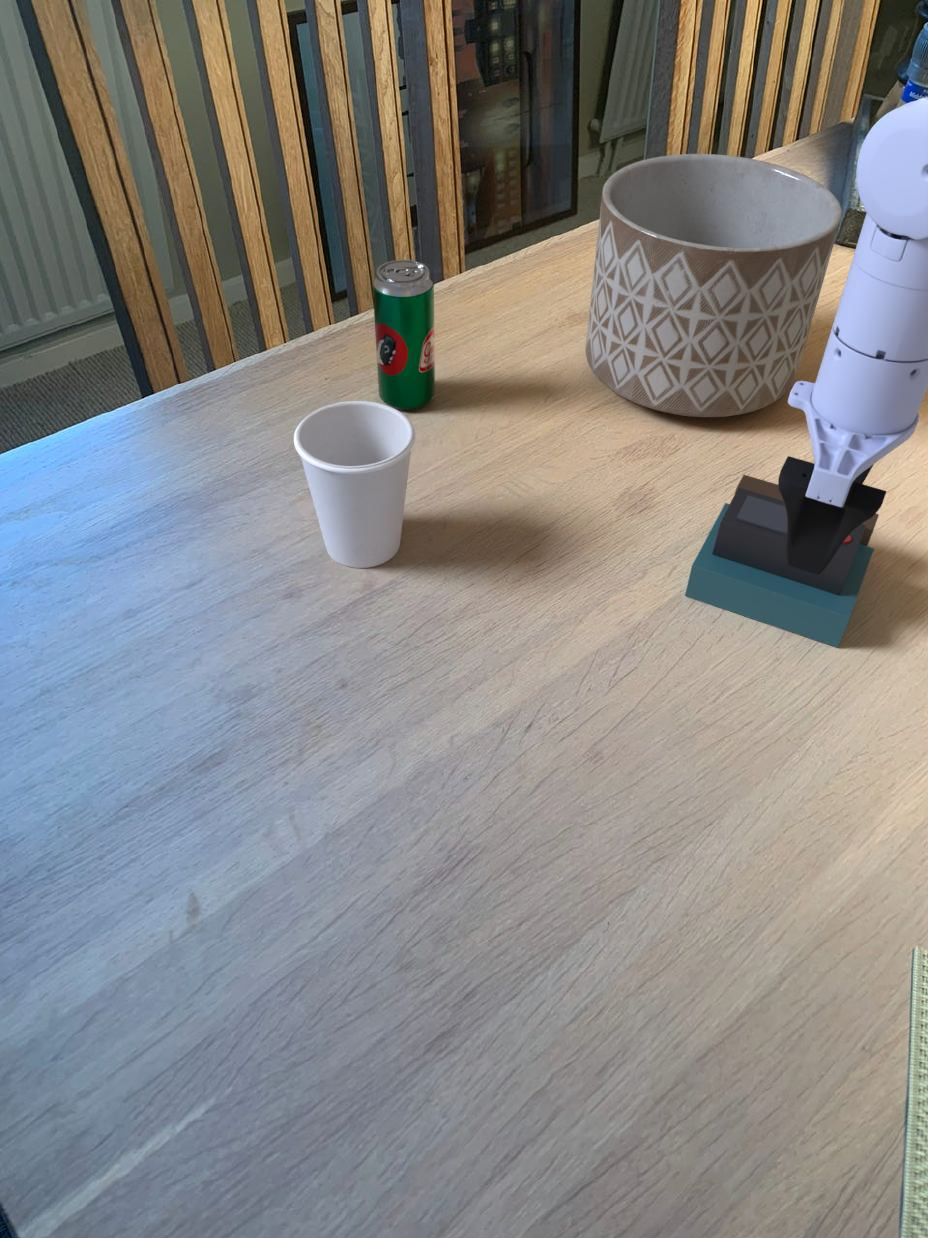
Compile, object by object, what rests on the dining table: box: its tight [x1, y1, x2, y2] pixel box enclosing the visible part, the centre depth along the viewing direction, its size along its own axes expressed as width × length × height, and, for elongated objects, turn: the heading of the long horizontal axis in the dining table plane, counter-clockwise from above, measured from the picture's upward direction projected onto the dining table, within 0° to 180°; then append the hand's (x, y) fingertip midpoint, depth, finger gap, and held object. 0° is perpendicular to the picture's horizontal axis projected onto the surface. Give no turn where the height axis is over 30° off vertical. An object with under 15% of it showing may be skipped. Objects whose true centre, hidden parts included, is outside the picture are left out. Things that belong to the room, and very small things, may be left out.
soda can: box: [372, 259, 436, 411], centre depth 85 cm, size 5×5×12 cm
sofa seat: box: [684, 474, 879, 649], centre depth 71 cm, size 10×11×4 cm
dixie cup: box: [293, 400, 416, 569], centre depth 72 cm, size 8×8×10 cm
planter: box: [585, 153, 843, 418], centre depth 87 cm, size 19×19×16 cm
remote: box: [712, 488, 866, 595], centre depth 69 cm, size 9×4×3 cm, turn 63°
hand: (819, 530), depth 63 cm, fingers open, 7 cm apart
